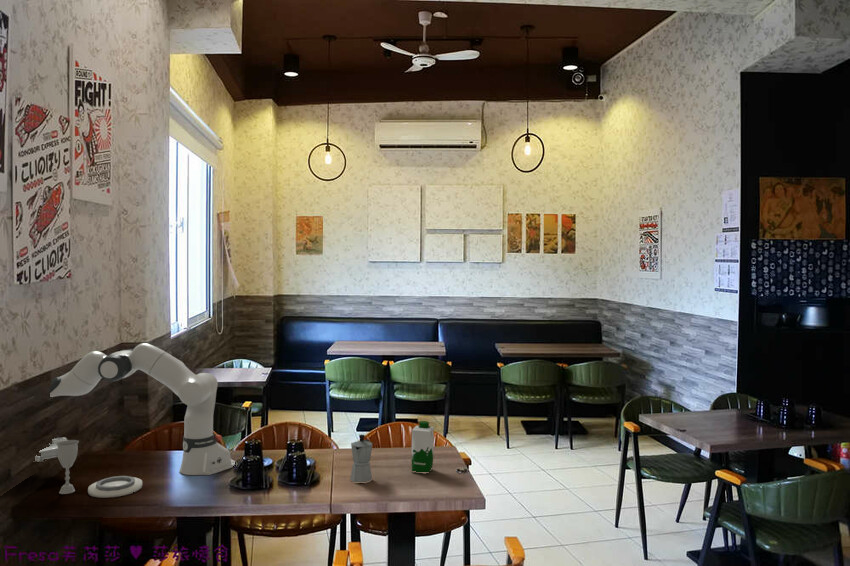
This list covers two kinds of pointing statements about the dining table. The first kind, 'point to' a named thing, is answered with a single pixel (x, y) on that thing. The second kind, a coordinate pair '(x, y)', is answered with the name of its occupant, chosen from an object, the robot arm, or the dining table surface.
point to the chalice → (67, 461)
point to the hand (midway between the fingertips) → (54, 456)
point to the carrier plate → (115, 486)
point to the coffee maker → (361, 460)
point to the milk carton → (422, 447)
